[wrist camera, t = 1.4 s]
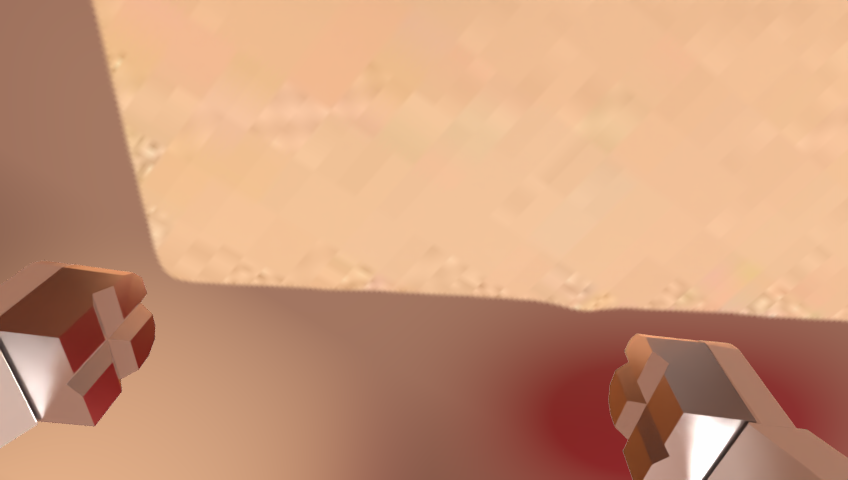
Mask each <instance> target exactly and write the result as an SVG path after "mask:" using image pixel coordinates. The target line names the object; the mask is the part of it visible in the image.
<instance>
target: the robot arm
mask: <svg viewBox="0 0 848 480" xmlns="http://www.w3.org/2000/svg"><path fill="white" fill-rule="evenodd" d="M146 294H147V291H146V288H145V285H144V282H143V279H142V277H141V276H138V275H137V274H135V273H132V272H125V271H118V270H111V269H104V268H97V267H90V266H83V265H77V264H74V265H71V264H66V263H59V262H52V261H45V260H44V261H38V262H33V263H31V264H29V265H27V266H26V267H25V268H23V269H22V270H20V271H19V272H18V273H16V274H15V275H13V276H12V277H11V278H9V279H8V280H6V281H5V282H4V283H2V284H1V285H0V448H1V447H3V446H5V445H6V444H8V443H9V442H11V441H12V440H14V439H16V438H17V437H19V436H20V435H21V434H23V433H25V432H26V431H28V430H30V429H31V428H33V427H34V426H36V425H37V421H41V422H52V423H64V424H74V425H85V426H86V425H87V426H96V424H97V423H98V422H99V420H100V419H101V418H102V417H103V415H104V414H105V413H106V411H107V410H108V409H109V407H110V406H111V405H112V403H113V402H114V401H115V400H116V398H117V397H118V396H119V395H120V393H121V392H122V386H121V379H122V378H124V377H126V376H128V375H130V374H131V373H133V372H135V371H137V370H139V368H140V367H141V366H142V364H143V363H144V362H145V360H146V359H147V357H148V356H149V354H150V351H151V348H152V345H153V343H154V340H155V322H154V318H153V314H152V313H151V312H150V311H149V310H148V309H146V307H145V306H144V305H142V304H141V302H142V300H143V299H144V297H145V296H146ZM625 354H626V356H627V359H628V361H629V362H628V363H626V364H625V365H623V366H621V367H620V368H618V369H617V370H616V371H615V373H614V375H613V378H612V380H611V383H610V390H609V408H610V414H611V417H612V420H613V423H614V426H615V427H616V428H617V429H618V430H619V431H620V432H621V433H622V434H623V435H624V436H625V437H626V438H627V439H628V441H627V443H626V446H625V448H624V450H623V453H624V456H625V459H626V461H627V465H628V467H629V470H630V473H631V476H632V479H633V480H848V458H847V457H845V456H844V455H843V454H841V453H840V452H838V451H837V450H835V449H834V448H833V447H831V446H830V445H828V444H827V443H825V442H824V441H823V440H821V439H820V438H818V437H817V436H815V435H814V434H813V433H811V432H810V431H808V430H806V429H798V428H796V427H795V426H794V425H793V423H792V422H791V420H790V419H789V417H788V416H787V415H786V413H785V412H784V411H783V409H782V408H781V407H780V405H779V404H778V402H777V401H776V400H775V398H774V397H773V396H772V394H771V393H770V391H769V390H768V389H767V387H766V386H765V385H764V383H763V382H762V380H761V379H760V378H759V376H758V375H757V374H756V372H755V371H754V369H753V368H752V367H751V365H750V364H749V363H748V361H747V360H746V358H745V357H744V356H743V354H742V353H741V352H740V350H739V349H737V348H736V347H735V346H733V345H732V344H730V343H722V342H712V341H702V340H698V341H694V340H686V339H677V338H669V337H660V336H651V335H643V334H636V335H634V336H633V337H632V338H631V339H630V341H629V343H628V344H627V347H626V349H625Z"/></svg>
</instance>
